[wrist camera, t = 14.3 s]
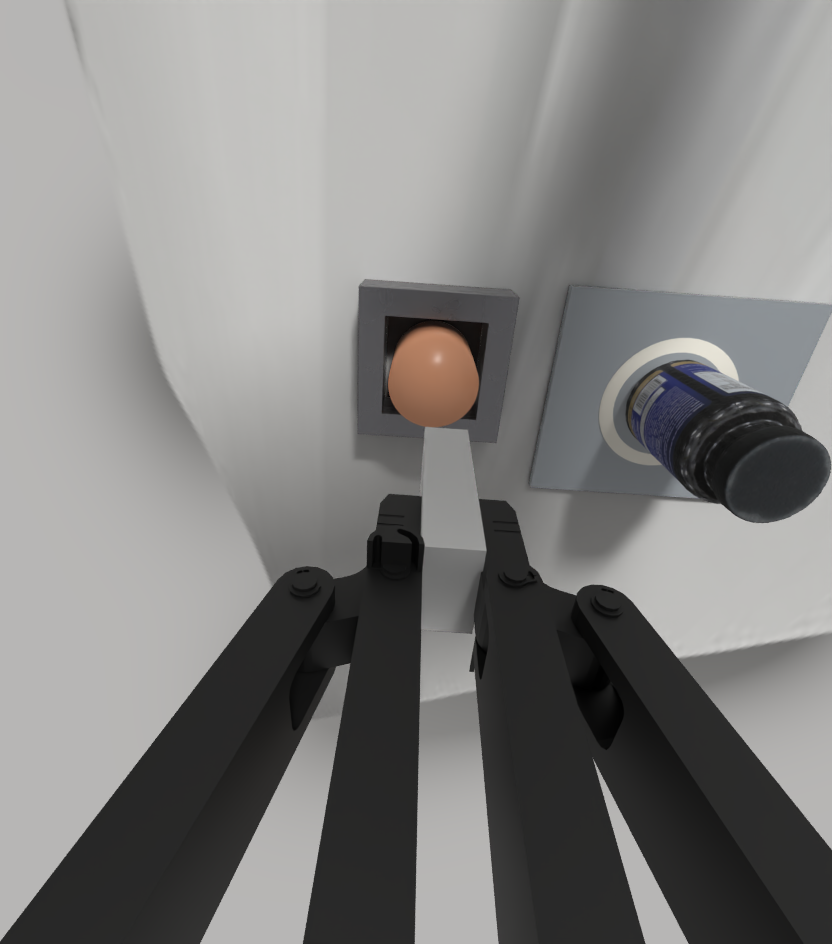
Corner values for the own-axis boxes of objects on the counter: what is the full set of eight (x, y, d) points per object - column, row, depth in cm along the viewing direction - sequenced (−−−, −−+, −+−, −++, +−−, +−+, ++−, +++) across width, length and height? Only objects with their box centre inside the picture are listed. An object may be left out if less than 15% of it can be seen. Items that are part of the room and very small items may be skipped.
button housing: (365, 279, 29) (358, 286, 27) (511, 289, 29) (519, 297, 27) (363, 416, 34) (357, 433, 31) (490, 424, 34) (496, 442, 31)
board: (569, 285, 29) (572, 286, 29) (827, 303, 30) (836, 305, 29) (528, 483, 36) (530, 488, 35) (739, 497, 36) (745, 502, 36)
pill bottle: (640, 459, 34) (727, 555, 24) (608, 387, 32) (690, 462, 22) (729, 416, 32) (860, 501, 23) (702, 338, 30) (836, 395, 20)
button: (395, 317, 30) (389, 336, 25) (475, 323, 30) (484, 343, 25) (392, 394, 32) (386, 424, 28) (466, 400, 32) (473, 430, 28)
